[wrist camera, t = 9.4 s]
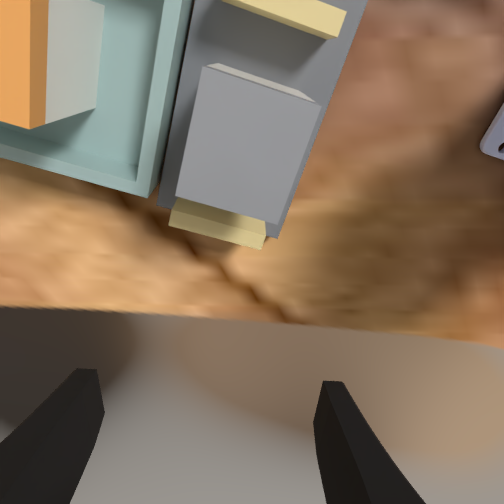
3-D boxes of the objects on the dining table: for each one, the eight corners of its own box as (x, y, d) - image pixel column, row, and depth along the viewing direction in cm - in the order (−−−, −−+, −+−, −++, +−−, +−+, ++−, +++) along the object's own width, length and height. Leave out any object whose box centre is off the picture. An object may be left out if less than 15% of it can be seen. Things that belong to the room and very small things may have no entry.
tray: (200, -36, 14) (191, -53, 12) (159, 181, 18) (147, 198, 16) (-81, -143, 13) (-151, -185, 10) (-55, 119, 17) (-101, 129, 15)
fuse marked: (105, 5, 14) (30, -21, 9) (95, 107, 16) (29, 129, 11) (10, -28, 14) (-119, -73, 9) (11, 82, 16) (-96, 93, 11)
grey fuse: (299, 90, 15) (321, 106, 11) (270, 177, 17) (277, 224, 12) (218, 63, 15) (202, 65, 10) (196, 155, 17) (174, 195, 12)
